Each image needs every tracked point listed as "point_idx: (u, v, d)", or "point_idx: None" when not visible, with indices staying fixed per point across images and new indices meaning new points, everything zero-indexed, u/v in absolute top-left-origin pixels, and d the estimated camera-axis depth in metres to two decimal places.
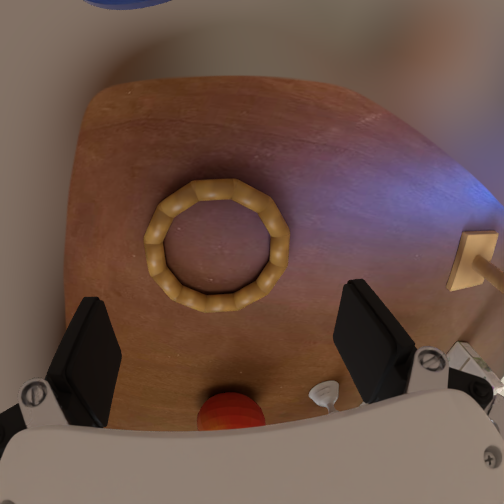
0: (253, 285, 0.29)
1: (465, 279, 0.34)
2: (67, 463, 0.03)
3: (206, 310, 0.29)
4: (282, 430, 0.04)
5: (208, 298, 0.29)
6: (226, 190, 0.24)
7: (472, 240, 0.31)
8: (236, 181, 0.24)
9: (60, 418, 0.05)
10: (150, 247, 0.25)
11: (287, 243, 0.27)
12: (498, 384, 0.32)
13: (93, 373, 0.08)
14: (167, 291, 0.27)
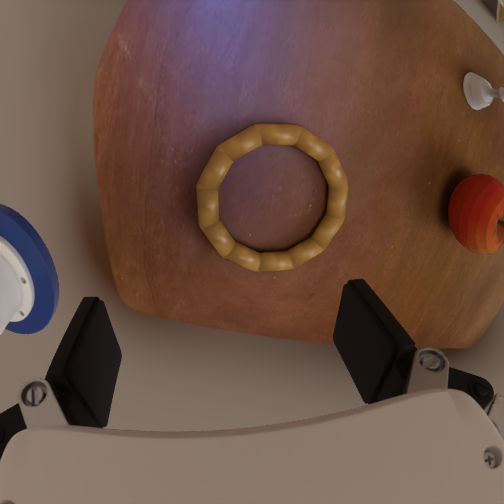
0: (320, 164, 0.24)
1: None
2: (67, 463, 0.03)
3: (341, 218, 0.26)
4: (282, 430, 0.04)
5: (328, 213, 0.26)
6: (206, 196, 0.23)
7: None
8: (198, 185, 0.23)
9: (60, 418, 0.05)
10: (262, 267, 0.27)
11: (270, 127, 0.22)
12: None
13: (93, 373, 0.07)
14: (312, 255, 0.27)
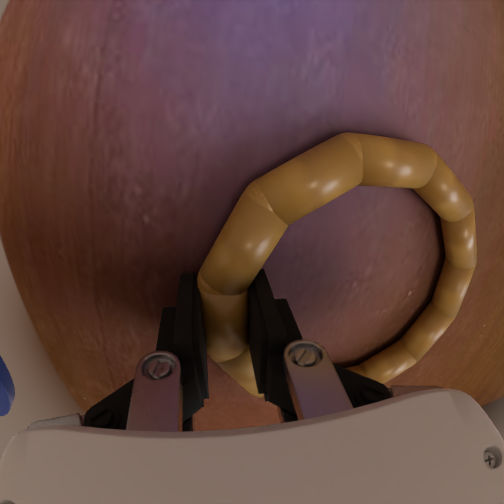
0: (449, 228, 0.11)
1: None
2: (67, 463, 0.03)
3: (455, 315, 0.12)
4: (282, 430, 0.04)
5: (438, 309, 0.13)
6: (222, 309, 0.10)
7: None
8: (201, 281, 0.10)
9: (173, 404, 0.06)
10: None
11: (382, 147, 0.08)
12: None
13: (202, 344, 0.09)
14: (401, 372, 0.14)
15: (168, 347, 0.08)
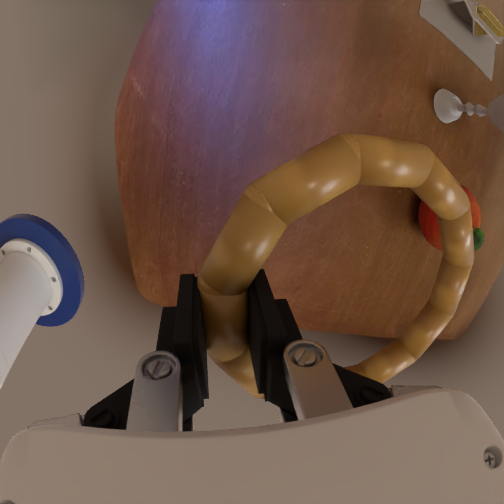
0: (446, 226, 0.11)
1: None
2: (67, 463, 0.03)
3: (453, 313, 0.13)
4: (282, 430, 0.04)
5: (436, 307, 0.13)
6: (222, 309, 0.10)
7: None
8: (201, 282, 0.10)
9: (173, 404, 0.06)
10: None
11: (379, 147, 0.08)
12: None
13: (202, 344, 0.09)
14: None
15: (168, 347, 0.08)
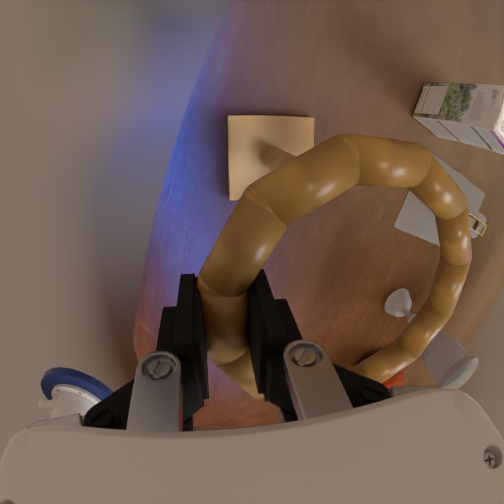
0: (444, 225, 0.11)
1: None
2: (66, 464, 0.03)
3: (451, 312, 0.13)
4: (282, 430, 0.04)
5: (435, 306, 0.13)
6: (223, 311, 0.10)
7: (237, 186, 0.30)
8: (201, 284, 0.10)
9: (173, 404, 0.06)
10: None
11: (378, 147, 0.08)
12: (494, 111, 0.17)
13: (202, 344, 0.09)
14: (400, 370, 0.14)
15: (168, 347, 0.08)
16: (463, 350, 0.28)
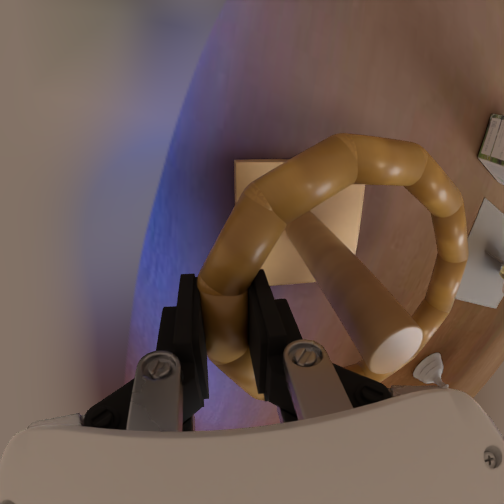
0: (440, 223, 0.11)
1: None
2: (67, 463, 0.03)
3: (449, 309, 0.13)
4: (282, 430, 0.04)
5: (433, 304, 0.13)
6: (223, 310, 0.10)
7: None
8: (202, 283, 0.10)
9: (173, 404, 0.06)
10: None
11: (375, 146, 0.09)
12: None
13: (202, 344, 0.09)
14: (399, 368, 0.14)
15: (168, 347, 0.08)
16: None
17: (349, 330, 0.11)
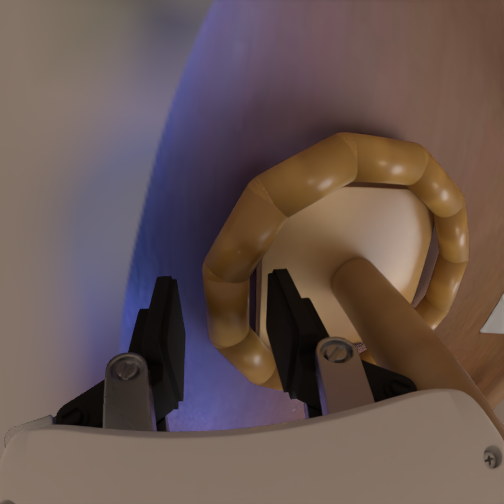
0: (441, 223, 0.11)
1: None
2: (67, 463, 0.03)
3: (448, 309, 0.13)
4: (282, 430, 0.04)
5: (432, 302, 0.13)
6: (225, 296, 0.10)
7: None
8: (206, 270, 0.10)
9: (144, 403, 0.06)
10: None
11: (376, 146, 0.09)
12: None
13: (175, 347, 0.09)
14: None
15: (140, 349, 0.08)
16: None
17: None
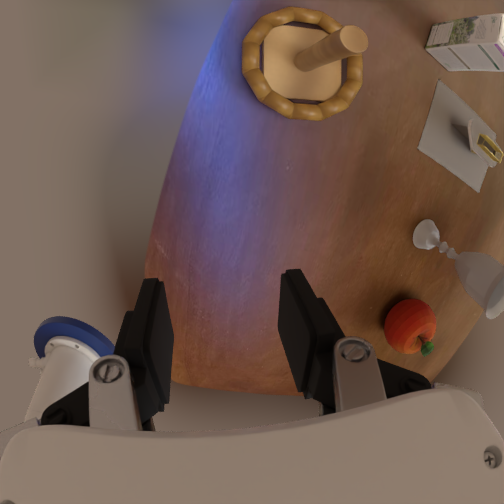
0: None
1: (328, 77, 0.27)
2: (66, 463, 0.03)
3: (359, 80, 0.26)
4: (282, 430, 0.04)
5: (349, 77, 0.26)
6: (251, 46, 0.23)
7: (271, 84, 0.27)
8: (244, 40, 0.23)
9: (128, 403, 0.06)
10: (296, 112, 0.27)
11: (300, 8, 0.22)
12: (495, 29, 0.14)
13: (160, 350, 0.09)
14: (338, 107, 0.27)
15: (124, 351, 0.08)
16: (502, 265, 0.25)
17: (330, 42, 0.17)
